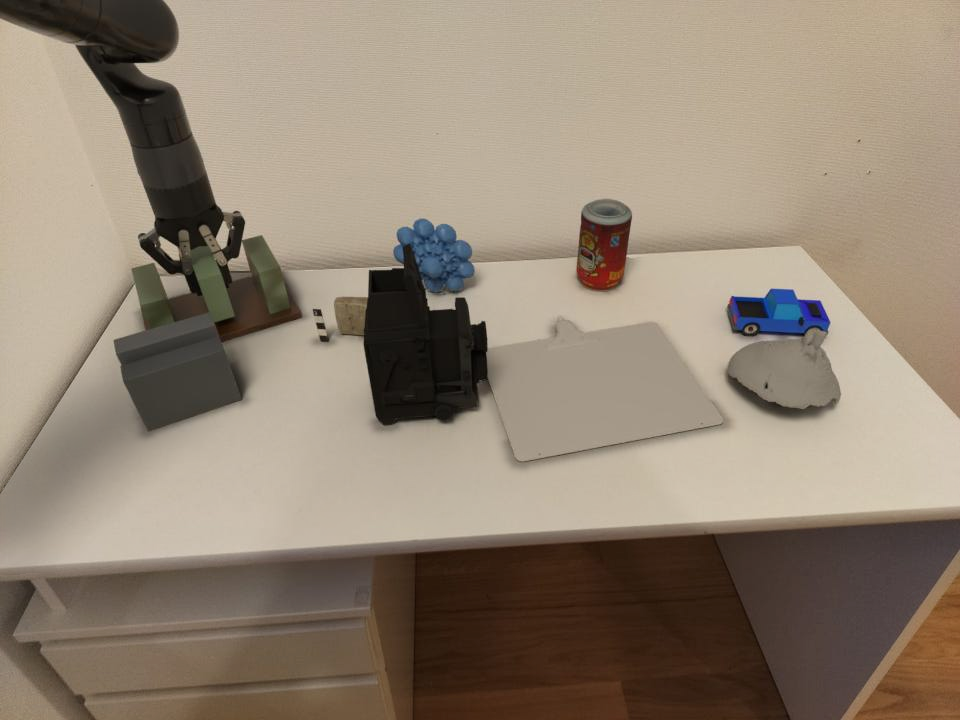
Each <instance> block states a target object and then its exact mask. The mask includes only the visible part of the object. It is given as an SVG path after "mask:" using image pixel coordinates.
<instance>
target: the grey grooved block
mask: <svg viewBox="0 0 960 720" xmlns="http://www.w3.org/2000/svg"><path fill="white" fill-rule="evenodd" d="M113 346H114V350H115V351H114V352H115V354H116V357H117V359H118V361H119V363H120V366H119V367H120V373H121V378H122V383H123V384H124V386H125V388H126V391H127V392H128V394H129V396H130V398H131V401H132V402H133V405H134V406H135V408H136V410H137V412H138V415H139V416H140V418H141V420H142V423H143V425H144V426H145V428H146V429H145V430H147V432H151V431H153V430H157V429H159V428H162V427H165V426H168V425H171V424H175V423H177V422H181V421H183V420H186V419H189V418H193V417H195V416H198V415H201V414H203V413H206V412H209V411H210V412H211V411H212V410H213V411H214V410H215V409H219V408H221V407H224V406H227V405H230V404H233V403H236V402H240V401H242V396H241V392H240V390H239V387H238V384H237V382H236V379H235V375H234V373H233V370H232V367H231V364H230V361H229V358H228V356H227V353H226V350H225V348H224V344H223V342H221V339H220V337H219V334H218V332H217V329H216V326H215V323H214V321H213V318H212V315H211V313H210V312H208V313H205V314H202V315H198V316H195V317H191V318H188V319H184V320H181V321H177V322H174V323H170V324H167V325H163V326H160V327H156V328H153V329H149V330H146V329H145V330H143V331H140V332H139V331H138V332H136V333H131V334H129V335H126V336H123V337H117V338H115V339H113Z"/></svg>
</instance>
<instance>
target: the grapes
mask: <svg viewBox="0 0 960 720" xmlns="http://www.w3.org/2000/svg"><path fill="white" fill-rule="evenodd" d="M457 238H458V237H457V231H456V230H455V229H454V227H453V226H451V225H450V224H447V223H439V224H438V225H437V226H436V227H435V226H434V224H433V223H432V222H431V221H430V220H428V219H426V218H418V219H416V220H414V222H413V225H412V228H411V227H409V226H402V227H400V228H398V229H397V231H396V239H397V241H398V243H399V244H397V245H395V246H394V247H393V250H392V253H393V257H394V259H395V260H396V262H398V263H399V264H401V265H403V266H404V256H403V248H402V247H403V246H405V245H407V244H409V243H410V245H411V247H412V249H413V252H414V255H415V259H416V262H417V265H418V269H419V272H420V276H421V279H422V281H423V286H424V288H426V290H428V291H429V292H432V293H440V292H441V291H443V290H444V288H446V289H448V290H449V291H451V292H459V291H460V290H462V289H463V287H464V280H468V279H471V278H472V277H474V276H475V272H476V271H475V266H474V264H473V263H472V261H470V259H471V258H472V256H473V248H472V246H471V245H470V243H468V242H467V241H466V240H463V239H457Z"/></svg>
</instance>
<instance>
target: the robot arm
mask: <svg viewBox="0 0 960 720" xmlns="http://www.w3.org/2000/svg"><path fill="white" fill-rule="evenodd" d="M0 20H2V21H5V22H7V23H9V24H12V25H14V26H17V27H18V28H22V29H25V30H27V31H29V32H33V33H35V34H38V35H41V36H43V37H47V38H50V39H53V40H56V41H59V42H62V43H65V44H69V45H74V47H75V48H76V50H77V52H78V53H79V55H80V57H81V58H82V60H83V61H84V62H85V64H86V66H87V67H88V68H89V70H90V71H91V73H92V75H94V77H95V78H96V80H97V81H98V83H99V85H100V86H101V87H102V89H103V90H104V92H105V93H106V95H107V96H108V97H109V99H110V100H111V103H113V105H114V106H115V108H116V110H117V112H118V115H119V118H120V120H121V124H122V126H123V129H124V131H125V134H126V137H127V140H128V141H129V145H130V148H131V149H130V150H131V153H132V157H133V158H132V159H133V161H134V164H135V168H136V171H137V174H138V176H139V179H140V180H141V183H142V186H143V189H144V192H145V195H146V197H147V199H148V202H149V204H150V205H149V206H151V207H150V208H151V211H152V213H153V215H154V223H153V227H154V228H152V229H151V230H149V231H147V233H146V232H141V233H139V234H137V235H138V236H137V239H138V243H139V246H140V248H141V250H143V251H144V253H146V255H148V256H149V257H150V258H151V259H152V260H153V261H154V262H155V263H157V264H158V265H159V266H160V267H161V268H162V269H163V270H164V271H165V272H166V273H167V274H169V275H170V276H173V275H176V274H181V275H183V276H184V279H185V281H186V284H187V287H188V289H189V293H192V294H194V293H197V295H198V296H201V295H202V292H201V289H200V286H199V283H198V280H197V278H196V275H195V272H194V270H193V267H192V261H191V259H192V258H191V250H193V249H195V248H197V247H199V246H208V247H209V249H210V250H211V252H212V254H213V256H214V258H215V260H216V263H217V265H218V267H219V269H220V272H221V274H222V277H223V280H224V283H225V286H226V289H227V288H229V285H228V284H230V283H232V281H233V277H232V275H231V271H230V268H229V265H228V264H229V261H231V260H232V259H238V258H239V256H240V253H241V247H242V240H243V237H244V231H245V226H246V220H245V218H244V216H243V214H242V213H241V212H240V211H239V210H234V211H232V212H228V211H223V210H222V208H221V207H220V206H218V205H217V202H216V199H215V195H214V192H213V189H212V186H211V182H210V178H209V176H208V173H207V172H208V171H207V170H206V166H205V162H204V158H203V156H202V152H201V150H200V147H199V144H198V143H197V140H196V139H195V136H194V134H193V131H192V127H191V124H190V121H189V117H188V115H187V111H186V108H185V105H184V102H183V99H182V96H181V93H180V91H179V90H178V88H177V87H176V86H175V85H173V84H172V83H170V82H167V81H165V80H162V79H158V78H154V77H151V76H149V75H146V74H145V73H143V72H142V71H141V70H140V69H139V68H138V67H137V65H136V64H158V63H162V62H163V63H164V62H165V61H167V60H168V59H170V58H171V57H173V55H174V54H175V52H176V50H177V48H178V46H179V41H180V28H179V24H178V21H177V18H176V16H175V14H174V12H173V10H172V9H171V7H170V6H169V5H168V4H167V2H165V0H0ZM223 222H224V223H225V225H226V227H227V229H228V234H227V239H226V246H225V247H223V248H221V245H220V244H219V242H218V240H217V236H218V234H219V232H220V230H221V228H222V225H223ZM160 238H162V239H164V240H166V241H167V242H169V243H171V244H172V245H173V246H175V247H177V252H178V259H173V258H172V257H171V256H170V255H169V254H168V253H167V252H166V251H165V250H164V249H163V248H162V247H161V246H162V243H161V240H160Z"/></svg>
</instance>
